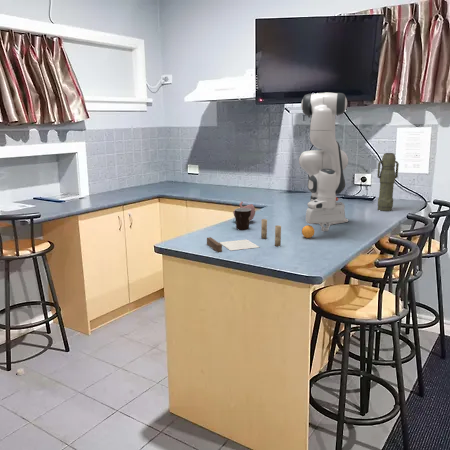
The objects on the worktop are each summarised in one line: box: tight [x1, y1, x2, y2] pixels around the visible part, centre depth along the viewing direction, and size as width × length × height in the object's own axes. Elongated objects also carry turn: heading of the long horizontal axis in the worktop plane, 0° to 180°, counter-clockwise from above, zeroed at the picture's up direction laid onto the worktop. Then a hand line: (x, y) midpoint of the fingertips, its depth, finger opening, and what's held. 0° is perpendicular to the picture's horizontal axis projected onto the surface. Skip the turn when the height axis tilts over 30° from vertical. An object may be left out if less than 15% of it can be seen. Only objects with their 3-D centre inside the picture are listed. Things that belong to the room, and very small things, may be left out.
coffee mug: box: [234, 207, 251, 231], centre depth 240 cm, size 12×9×10 cm
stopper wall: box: [206, 236, 223, 253], centre depth 207 cm, size 2×14×3 cm, turn 21°
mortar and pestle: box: [232, 201, 256, 222], centre depth 256 cm, size 12×12×12 cm
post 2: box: [274, 225, 282, 247], centre depth 210 cm, size 3×3×9 cm
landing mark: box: [218, 239, 260, 252], centre depth 212 cm, size 14×14×1 cm
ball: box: [301, 224, 316, 239], centre depth 224 cm, size 6×6×6 cm
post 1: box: [260, 218, 268, 240], centre depth 223 cm, size 3×3×9 cm
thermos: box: [376, 152, 400, 212], centre depth 286 cm, size 9×12×35 cm
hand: (324, 231), depth 227 cm, fingers closed
